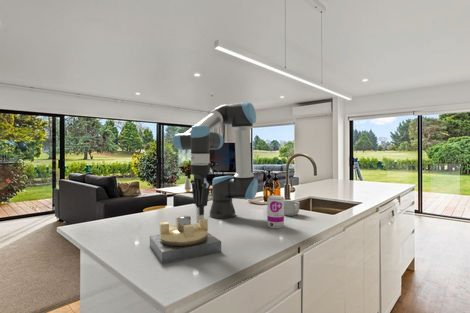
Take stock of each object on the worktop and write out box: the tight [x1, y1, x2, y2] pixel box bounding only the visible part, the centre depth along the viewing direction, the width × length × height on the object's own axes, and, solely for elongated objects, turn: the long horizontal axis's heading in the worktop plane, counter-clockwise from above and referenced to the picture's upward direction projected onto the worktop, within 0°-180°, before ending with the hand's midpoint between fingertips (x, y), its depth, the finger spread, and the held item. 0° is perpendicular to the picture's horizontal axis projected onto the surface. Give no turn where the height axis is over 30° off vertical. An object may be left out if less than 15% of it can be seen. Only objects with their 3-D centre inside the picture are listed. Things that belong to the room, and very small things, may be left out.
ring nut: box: [159, 215, 209, 246], centre depth 104 cm, size 18×18×8 cm
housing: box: [149, 232, 222, 265], centre depth 104 cm, size 20×22×4 cm
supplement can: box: [266, 194, 285, 229], centre depth 135 cm, size 8×8×15 cm
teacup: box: [284, 200, 300, 217], centre depth 158 cm, size 14×11×8 cm
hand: (200, 222), depth 109 cm, fingers closed
